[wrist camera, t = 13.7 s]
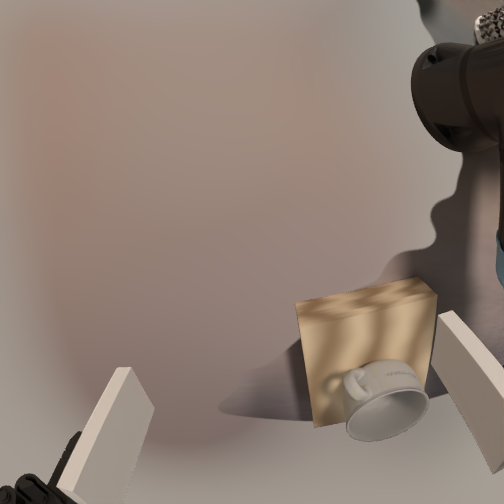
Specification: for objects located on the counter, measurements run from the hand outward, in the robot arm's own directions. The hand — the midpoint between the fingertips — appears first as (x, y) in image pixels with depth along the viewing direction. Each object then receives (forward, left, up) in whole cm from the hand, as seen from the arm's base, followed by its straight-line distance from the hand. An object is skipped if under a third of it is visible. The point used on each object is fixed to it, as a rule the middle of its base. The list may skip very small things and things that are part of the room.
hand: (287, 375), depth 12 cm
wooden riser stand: (-10, +22, -27) cm, 36 cm away
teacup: (-10, +22, -21) cm, 32 cm away
